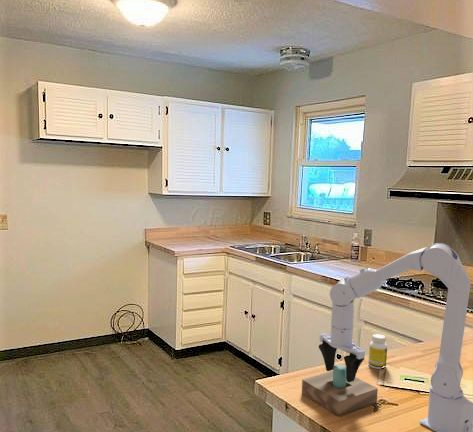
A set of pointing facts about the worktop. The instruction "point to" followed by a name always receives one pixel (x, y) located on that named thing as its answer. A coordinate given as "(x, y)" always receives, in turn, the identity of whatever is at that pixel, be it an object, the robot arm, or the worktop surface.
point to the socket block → (339, 394)
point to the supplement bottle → (377, 351)
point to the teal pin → (339, 376)
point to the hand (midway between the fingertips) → (339, 375)
